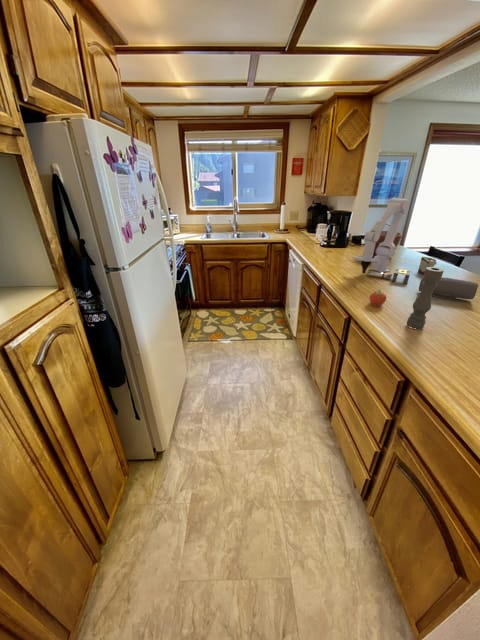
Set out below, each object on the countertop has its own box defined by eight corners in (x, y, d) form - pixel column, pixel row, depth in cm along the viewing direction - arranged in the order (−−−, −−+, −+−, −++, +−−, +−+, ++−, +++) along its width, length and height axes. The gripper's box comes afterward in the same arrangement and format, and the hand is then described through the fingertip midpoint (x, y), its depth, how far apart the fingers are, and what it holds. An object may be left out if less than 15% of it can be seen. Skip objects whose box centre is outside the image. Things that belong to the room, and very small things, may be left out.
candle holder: (402, 323, 114) (421, 266, 102) (416, 322, 114) (436, 266, 102) (412, 330, 108) (433, 272, 96) (426, 329, 109) (448, 271, 97)
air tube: (367, 276, 166) (368, 271, 165) (368, 275, 169) (369, 270, 167) (390, 280, 160) (391, 275, 159) (390, 278, 162) (392, 273, 161)
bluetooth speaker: (468, 297, 136) (476, 279, 131) (471, 304, 129) (480, 285, 124) (417, 289, 146) (423, 272, 142) (417, 295, 139) (423, 277, 135)
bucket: (361, 253, 216) (367, 221, 204) (389, 254, 213) (398, 221, 201) (369, 261, 195) (377, 226, 183) (401, 262, 192) (411, 226, 180)
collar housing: (391, 281, 158) (394, 272, 155) (393, 277, 164) (395, 268, 161) (406, 284, 154) (410, 274, 151) (407, 279, 160) (410, 270, 157)
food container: (435, 278, 162) (441, 262, 157) (424, 277, 163) (429, 262, 158) (427, 272, 173) (432, 257, 168) (416, 271, 174) (421, 256, 169)
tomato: (383, 309, 125) (387, 294, 122) (366, 306, 129) (370, 290, 125) (385, 303, 131) (389, 288, 127) (369, 300, 134) (372, 285, 131)
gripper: (354, 251, 162) (350, 272, 169) (380, 254, 155) (375, 276, 162) (357, 249, 167) (353, 269, 174) (382, 252, 160) (376, 273, 167)
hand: (363, 272), depth 168 cm, fingers closed
